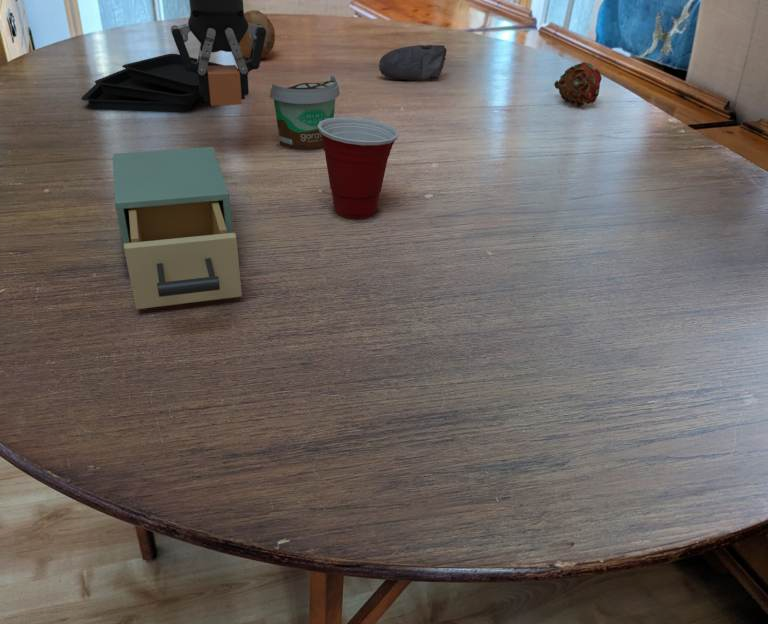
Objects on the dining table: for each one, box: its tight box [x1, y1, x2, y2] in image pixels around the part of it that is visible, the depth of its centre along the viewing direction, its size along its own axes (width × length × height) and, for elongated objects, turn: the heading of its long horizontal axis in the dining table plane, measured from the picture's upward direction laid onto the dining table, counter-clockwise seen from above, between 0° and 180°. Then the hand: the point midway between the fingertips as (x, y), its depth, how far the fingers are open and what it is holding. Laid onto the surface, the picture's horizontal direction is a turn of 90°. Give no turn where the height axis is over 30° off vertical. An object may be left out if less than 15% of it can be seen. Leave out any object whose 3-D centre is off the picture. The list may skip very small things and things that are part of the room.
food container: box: [269, 75, 341, 151], centre depth 120 cm, size 12×6×10 cm, turn 126°
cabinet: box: [112, 146, 234, 274], centre depth 91 cm, size 16×13×9 cm
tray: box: [81, 53, 222, 113], centre depth 139 cm, size 30×23×5 cm
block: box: [206, 64, 243, 107], centre depth 110 cm, size 5×5×5 cm
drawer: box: [123, 201, 243, 310], centre depth 81 cm, size 20×11×7 cm, turn 17°
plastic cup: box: [318, 116, 400, 220], centre depth 99 cm, size 11×11×12 cm
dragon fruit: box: [553, 61, 603, 108], centre depth 146 cm, size 8×8×12 cm
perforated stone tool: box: [378, 44, 447, 82], centre depth 155 cm, size 15×5×7 cm, turn 99°
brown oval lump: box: [239, 9, 276, 60], centre depth 164 cm, size 10×10×10 cm
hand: (224, 98), depth 111 cm, fingers closed on block, 4 cm apart
